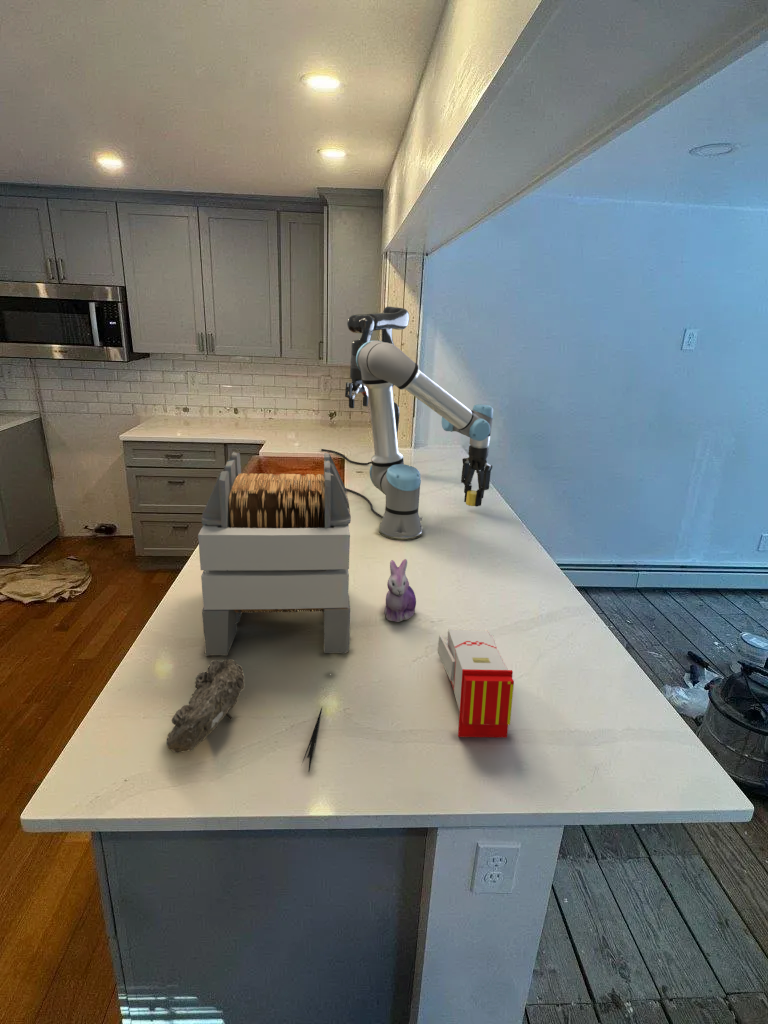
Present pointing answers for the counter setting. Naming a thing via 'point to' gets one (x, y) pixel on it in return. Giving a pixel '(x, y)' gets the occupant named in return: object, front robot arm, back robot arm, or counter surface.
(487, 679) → the toy
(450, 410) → the front robot arm
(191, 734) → the fossil
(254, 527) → the record crate
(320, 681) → the counter surface
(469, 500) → the cylinder
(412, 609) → the figurine
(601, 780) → the counter surface
